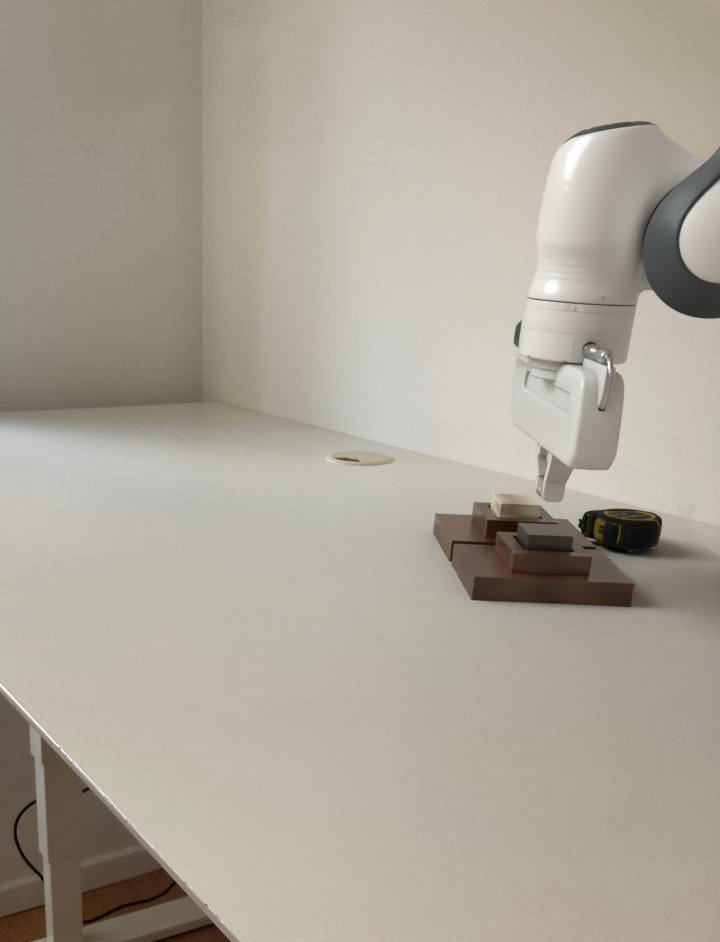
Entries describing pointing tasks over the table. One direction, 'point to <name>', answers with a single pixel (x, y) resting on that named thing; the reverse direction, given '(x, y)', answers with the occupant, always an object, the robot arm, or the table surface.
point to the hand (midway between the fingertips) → (548, 498)
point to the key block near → (540, 574)
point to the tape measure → (622, 528)
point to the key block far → (489, 528)
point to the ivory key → (515, 506)
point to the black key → (544, 537)
